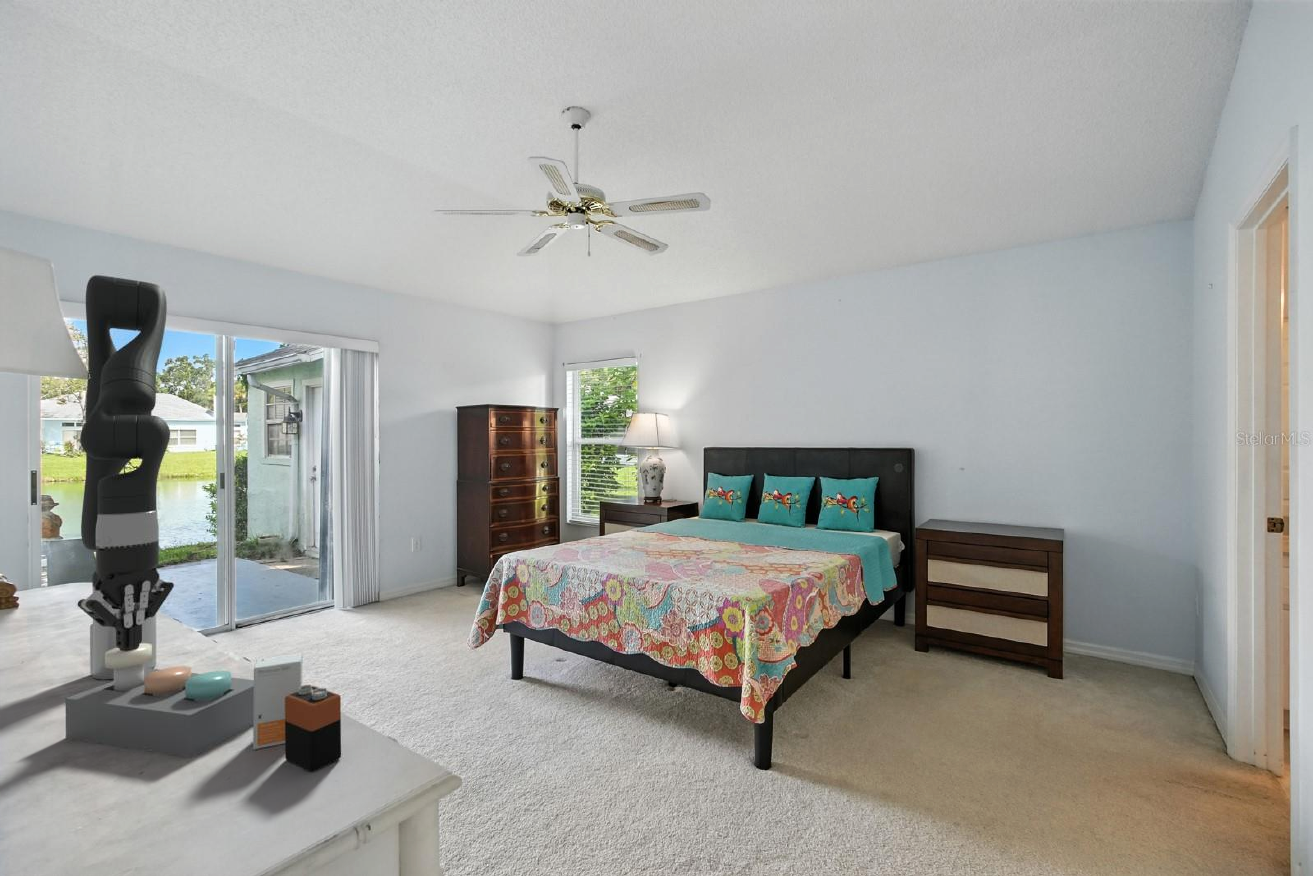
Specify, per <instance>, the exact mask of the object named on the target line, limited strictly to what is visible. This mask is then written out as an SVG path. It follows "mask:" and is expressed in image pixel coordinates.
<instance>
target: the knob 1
mask: <svg viewBox="0 0 1313 876" xmlns="http://www.w3.org/2000/svg"><path fill="white" fill-rule="evenodd" d="M151 659H152V645H151V644H148V643H141V644H139V648H136V649H133V650H130V651H121V650H120V649H119V648H114V649H111V650H109V651H107V652H106V653H105V668H109V669H114V679H113V681H114V691H119V692H126V691H128V690H131V689H134V688H136V687H139V686H142V685H144V663H145V662H147V661H149V660H151Z"/></svg>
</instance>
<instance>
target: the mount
mask: <svg viewBox="0 0 1313 876" xmlns="http://www.w3.org/2000/svg"><path fill="white" fill-rule="evenodd" d="M158 670H161V669H159V668H149V669H146V670H144V678H145V676H146V675H148V674H150V673H152V672H155V671H158ZM199 674H200V673H194V672H191V677H193V676H196V675H199ZM253 717H254V679H246V678H238V677H231V688H230V689H229V690H228V691H226V692H224V693H223V695H222V696H220V697H217V698H215V699H213V700H211V701H208V702H198V701H194V699H189V698H186V696H185V687H183V690H181V691H178V692H176V693H173V694H171V695H168V696H166V697H159V696H153V694H149V693H145V691H144V685H142V686H139V687H136V688H134V689H131V690H128V691H126V692H119V691H114V680H112V681H111V682H108V683H105V684H102V685H99V686H96V687H94V688H93V687H92V688H89V689H87V690H85V691H82V692H79V693H76V694H74V695H71V696H68V697H65V739H71V740H76V741H84V742H90V743H95V744H101V745H109V746H114V747H115V746H116V747H122V748H128V749H134V750H140V751H147V752H152V753H161V754H167V755H172V756H178V757H184V758H185V757H186V758H192V757H194V756H196V755H198V754H200V753H202V752H204V751H206V750H207V749H210V748H211V747H213V746H215V745H217V744H219V743H221V742H222V741H225V740H227V739H229V738H230V737H232V736H234V735H236V734H239V733H240V732H242V731H244V730H246V729H247V728H249V727H250V728H251V727H252V726H253Z"/></svg>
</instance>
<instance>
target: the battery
mask: <svg viewBox="0 0 1313 876" xmlns="http://www.w3.org/2000/svg"><path fill="white" fill-rule="evenodd" d="M341 702H342V701H341V695H340V694H338V693H335V692H333V691H329V690H328V688H327V687H322V688H321V687H318V686H317V685H313V686H312V684H305V685H302V686H301V687H300V688H299V691H298V692H295V693H292V694H290V695H287V696H286V697H285V743H284V744H285V745H284V747H285V748H284V750H285V751H284V753H285V754H284V755H285V760H286V761H288V762H290V763H292V764H295V765H297V766H299V767H301V768H303V769H305V770H307V771H309V772H312V773H313V772H316V771H317V770H319V769H321V768H324V767H326V766H327V765H330V764H332V763H334V762H336V761H339V760H340V759H341V758H342V757H341V756H342V739H341V738H342V728H341V727H342V725H341V724H342V721H341V720H342V716H341V715H342V712H341V711H342V709H341V705H342V704H341ZM339 758H340V759H339ZM335 760H336V761H335Z"/></svg>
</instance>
